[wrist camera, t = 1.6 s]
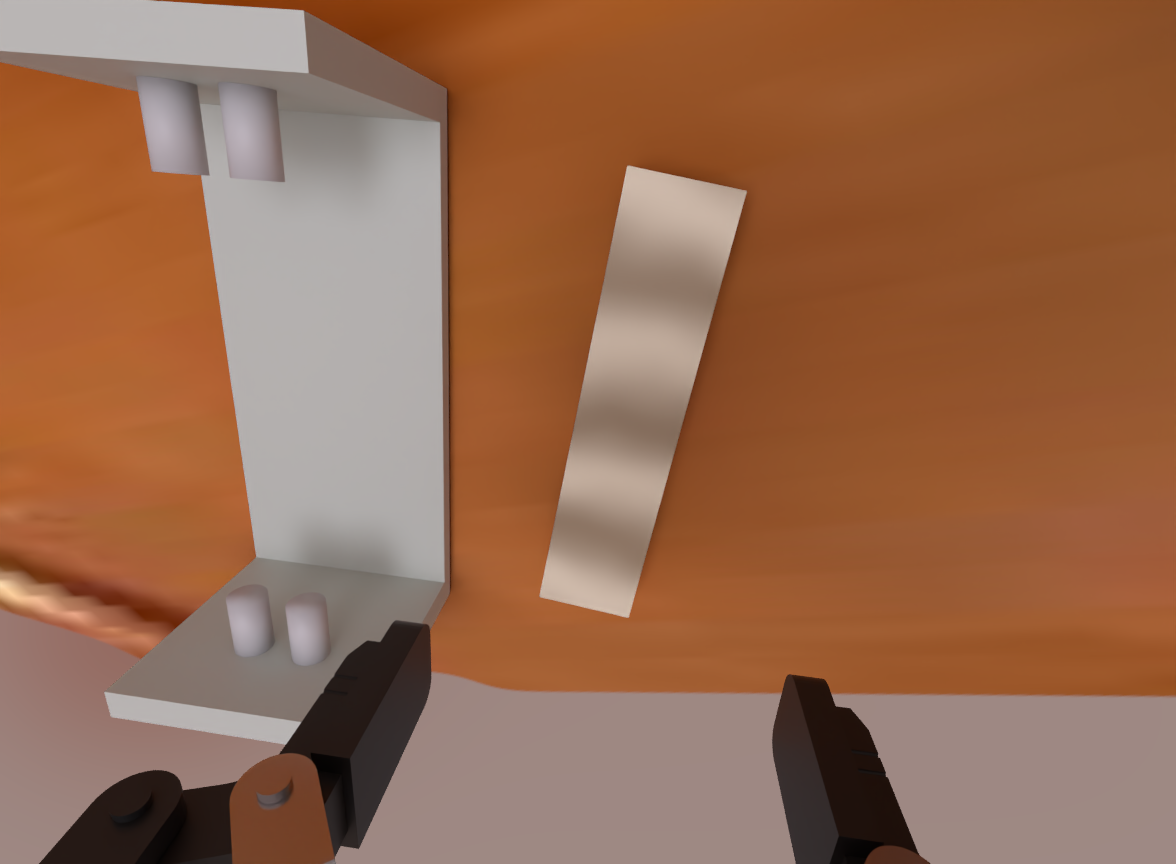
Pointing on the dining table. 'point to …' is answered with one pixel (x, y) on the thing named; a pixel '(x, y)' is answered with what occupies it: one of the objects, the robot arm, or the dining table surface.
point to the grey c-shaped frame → (294, 331)
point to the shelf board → (638, 382)
